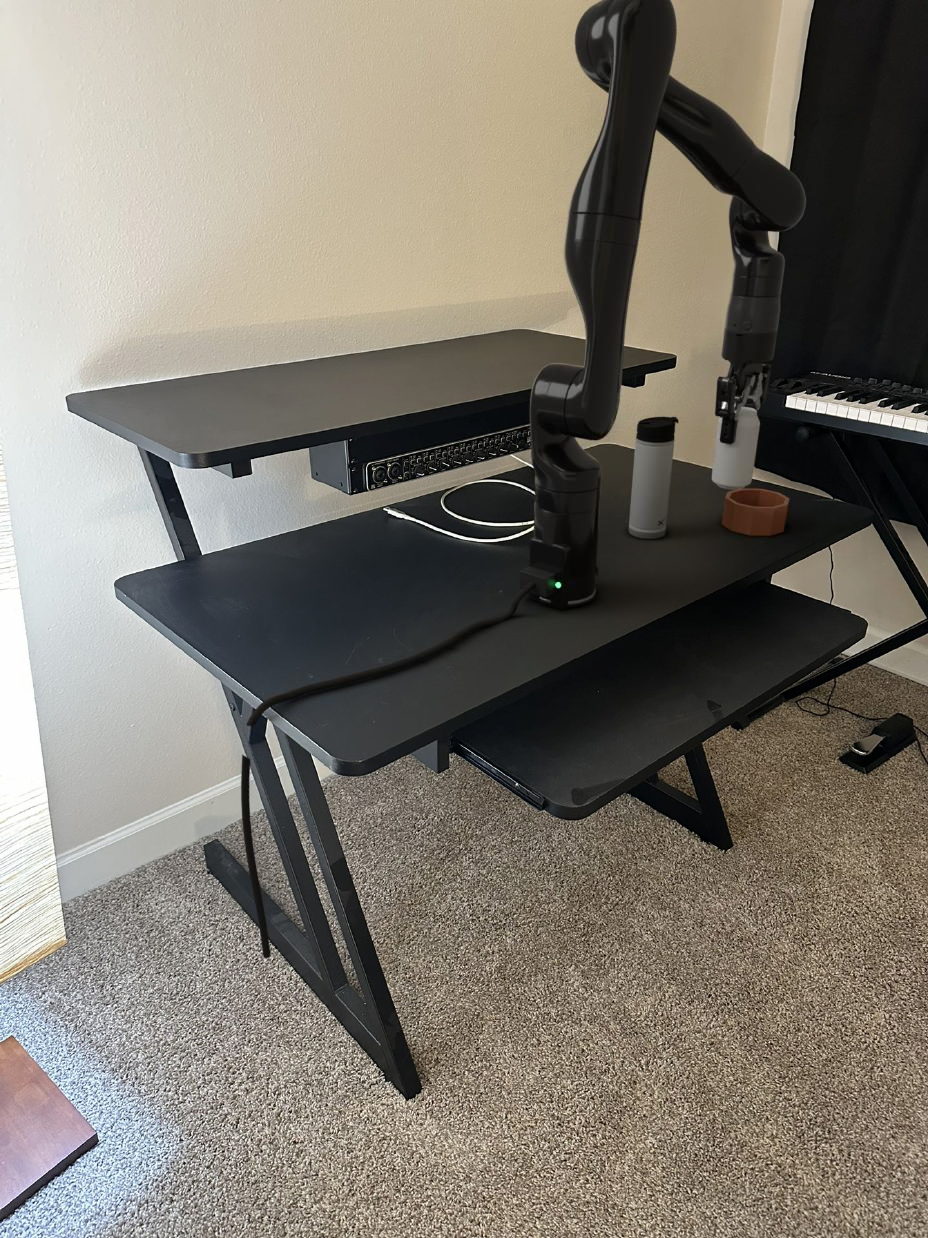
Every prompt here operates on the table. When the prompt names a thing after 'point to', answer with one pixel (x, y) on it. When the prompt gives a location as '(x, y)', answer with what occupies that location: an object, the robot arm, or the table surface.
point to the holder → (755, 512)
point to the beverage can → (737, 452)
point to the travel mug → (652, 477)
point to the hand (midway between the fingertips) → (736, 437)
